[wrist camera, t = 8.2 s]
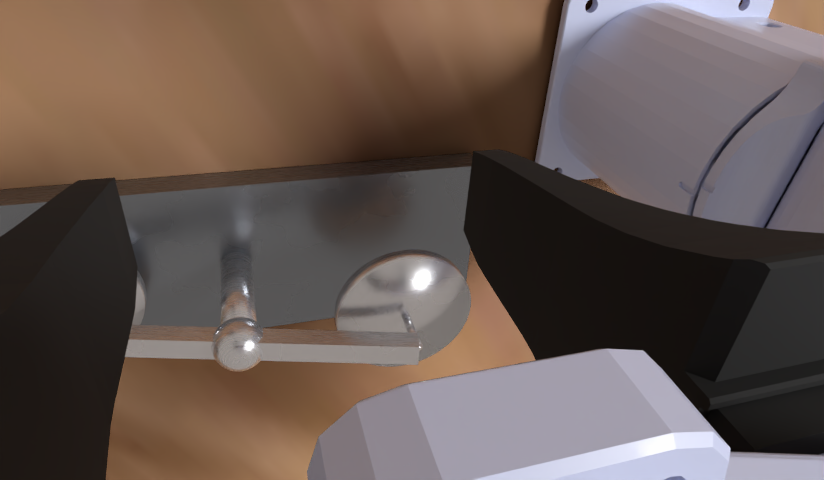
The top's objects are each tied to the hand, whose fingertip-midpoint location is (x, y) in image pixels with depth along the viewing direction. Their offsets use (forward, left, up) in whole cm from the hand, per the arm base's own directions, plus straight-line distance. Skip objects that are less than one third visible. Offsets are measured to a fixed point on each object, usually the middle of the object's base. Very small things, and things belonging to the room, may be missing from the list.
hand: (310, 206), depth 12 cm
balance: (+2, +8, -10) cm, 13 cm away
